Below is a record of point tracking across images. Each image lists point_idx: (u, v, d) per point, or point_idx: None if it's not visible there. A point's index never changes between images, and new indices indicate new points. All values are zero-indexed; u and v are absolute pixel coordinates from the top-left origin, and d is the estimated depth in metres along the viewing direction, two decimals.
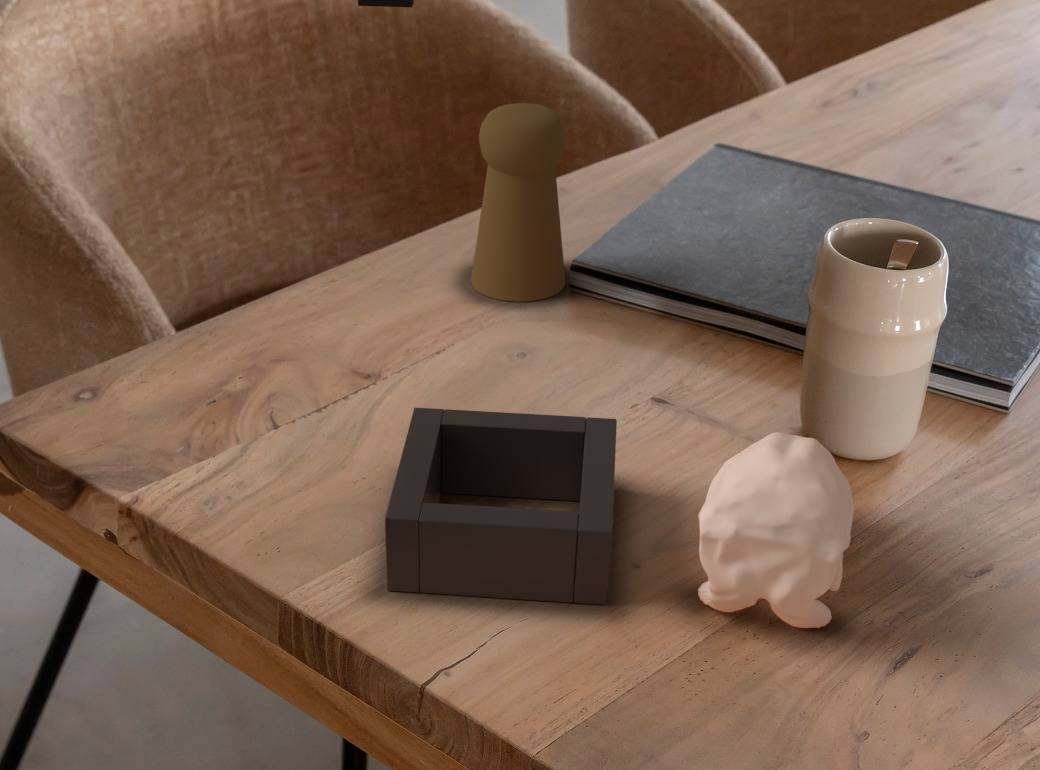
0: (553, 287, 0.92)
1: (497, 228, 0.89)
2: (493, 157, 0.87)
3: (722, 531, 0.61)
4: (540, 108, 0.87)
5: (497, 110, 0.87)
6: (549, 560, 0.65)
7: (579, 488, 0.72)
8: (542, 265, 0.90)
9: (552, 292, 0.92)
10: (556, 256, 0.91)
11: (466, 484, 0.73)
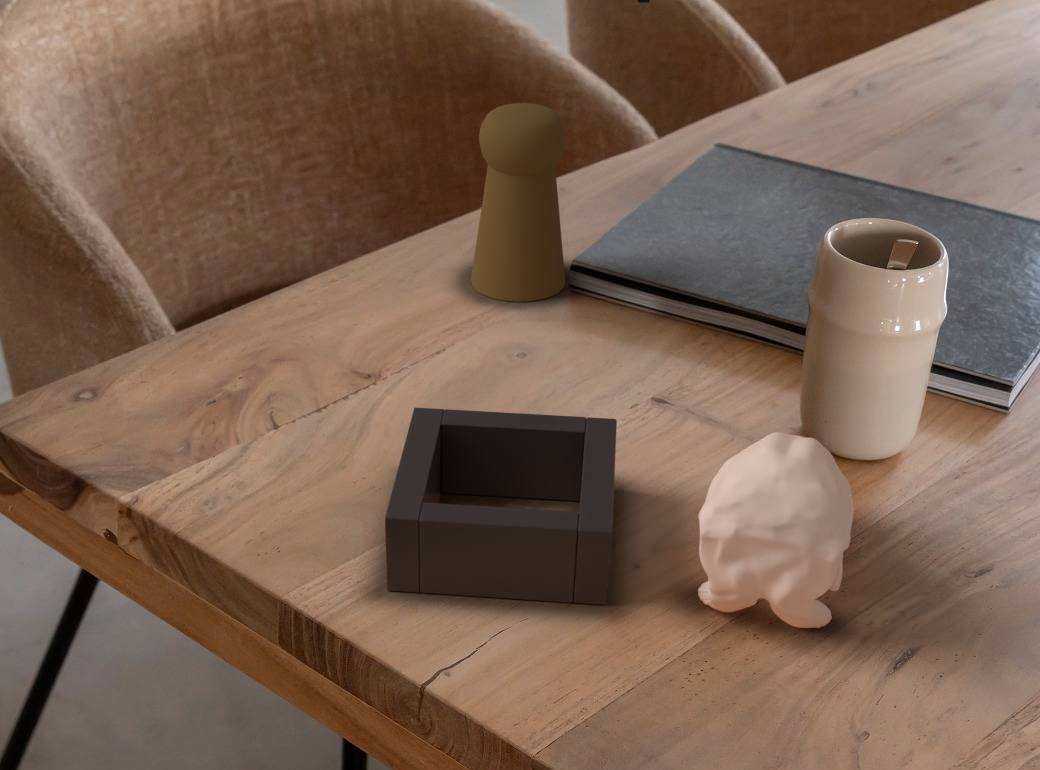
0: (553, 287, 0.92)
1: (497, 228, 0.89)
2: (493, 157, 0.87)
3: (722, 531, 0.61)
4: (540, 108, 0.87)
5: (497, 110, 0.87)
6: (549, 560, 0.65)
7: (579, 488, 0.72)
8: (542, 265, 0.90)
9: (552, 292, 0.92)
10: (556, 256, 0.91)
11: (466, 484, 0.73)
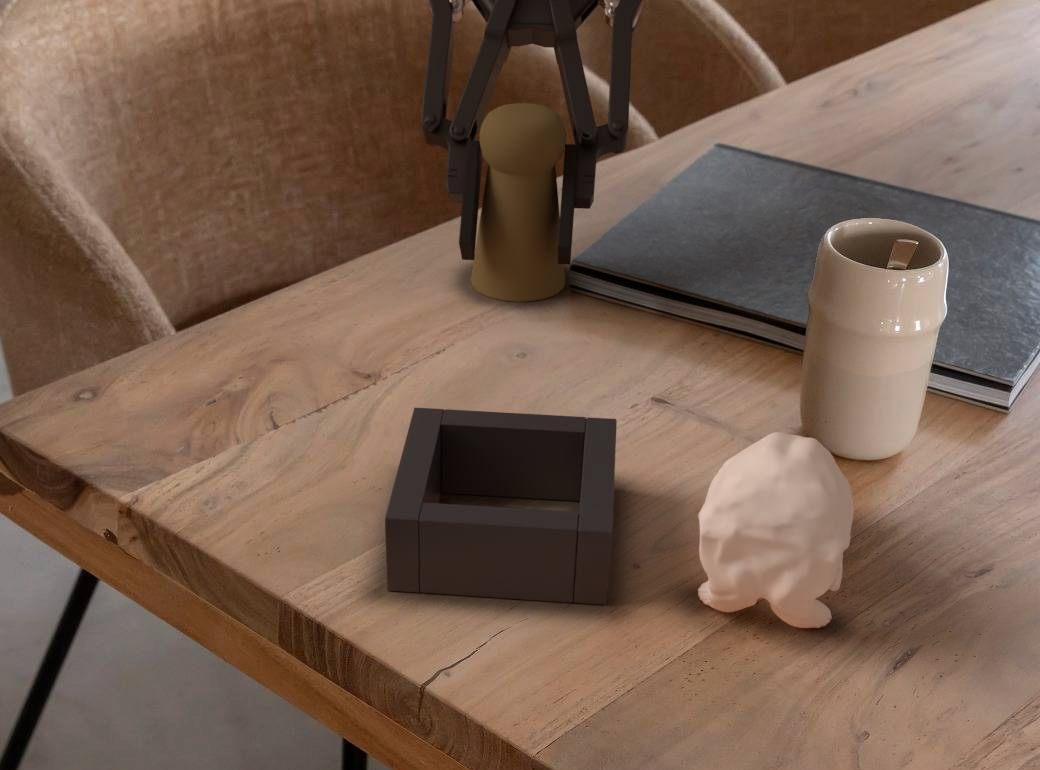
0: (553, 287, 0.92)
1: (497, 228, 0.89)
2: (493, 157, 0.87)
3: (722, 531, 0.61)
4: (540, 108, 0.87)
5: (497, 110, 0.87)
6: (549, 560, 0.65)
7: (579, 488, 0.72)
8: (542, 265, 0.90)
9: (552, 292, 0.92)
10: (556, 256, 0.91)
11: (466, 484, 0.73)
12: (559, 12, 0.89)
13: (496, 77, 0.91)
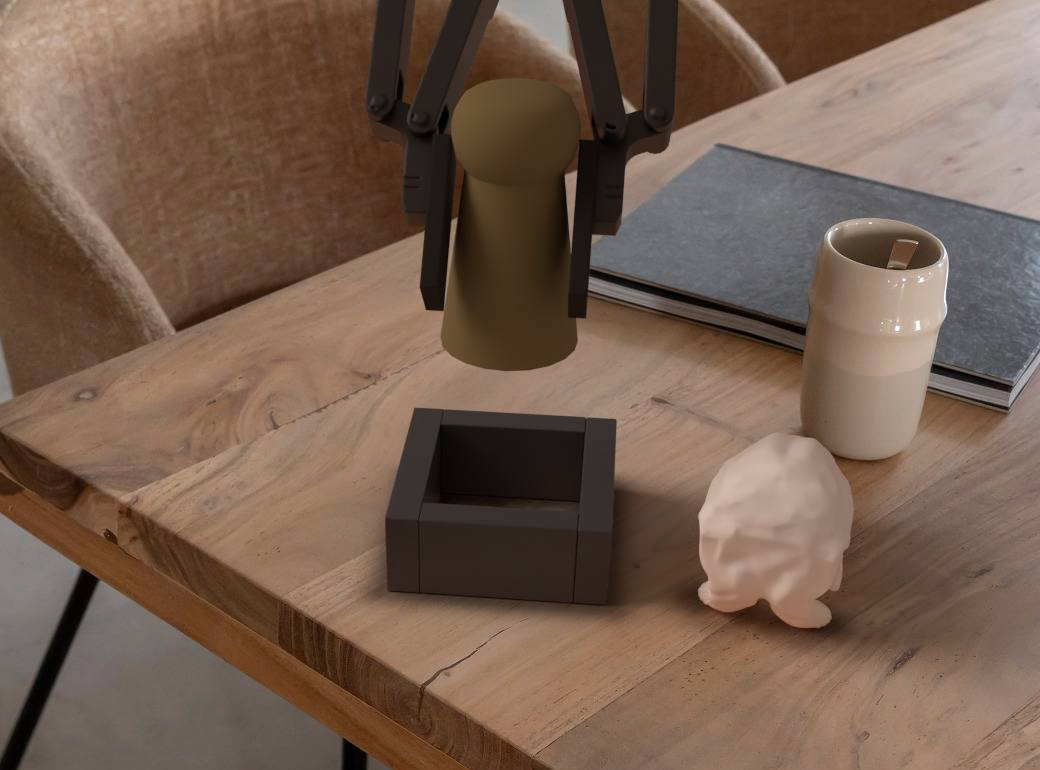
0: (560, 349, 0.62)
1: (478, 264, 0.60)
2: (472, 160, 0.58)
3: (722, 531, 0.61)
4: (543, 85, 0.58)
5: (478, 88, 0.58)
6: (549, 560, 0.65)
7: (579, 488, 0.72)
8: (544, 318, 0.61)
9: (559, 357, 0.63)
10: (565, 304, 0.62)
11: (466, 484, 0.73)
12: None
13: (477, 41, 0.62)
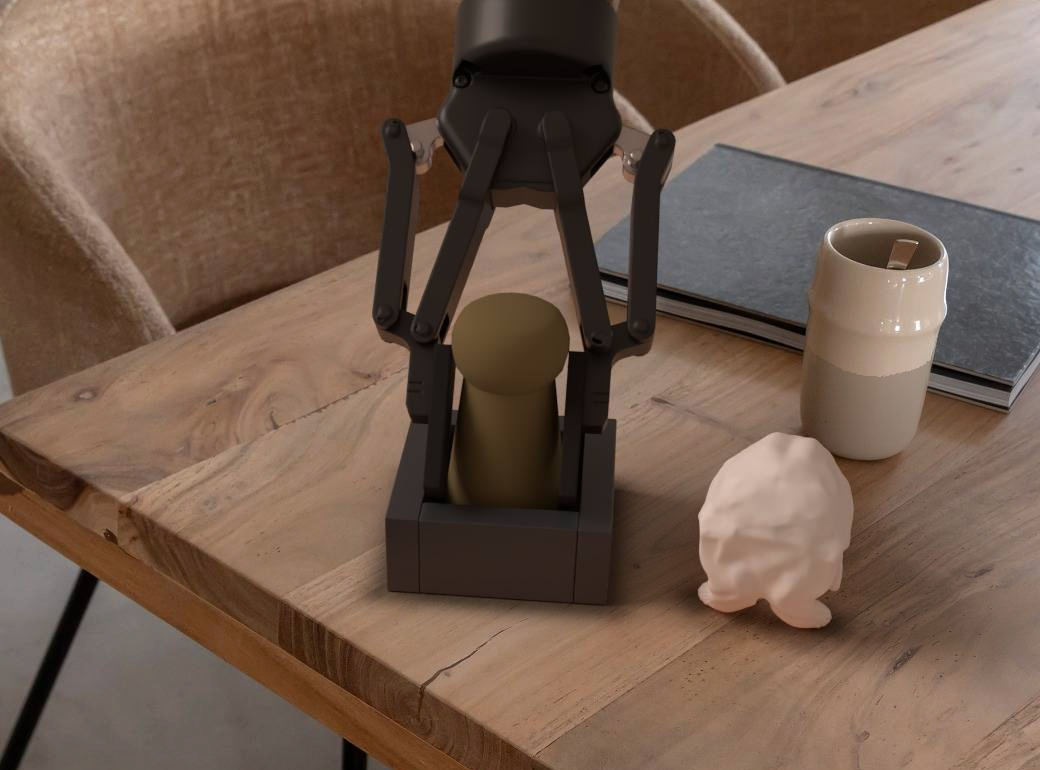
0: None
1: (476, 460, 0.66)
2: (470, 372, 0.63)
3: (722, 531, 0.61)
4: (535, 304, 0.63)
5: (476, 306, 0.64)
6: (549, 560, 0.65)
7: (579, 488, 0.72)
8: (537, 507, 0.67)
9: None
10: (556, 493, 0.67)
11: None
12: (561, 168, 0.65)
13: (475, 250, 0.67)
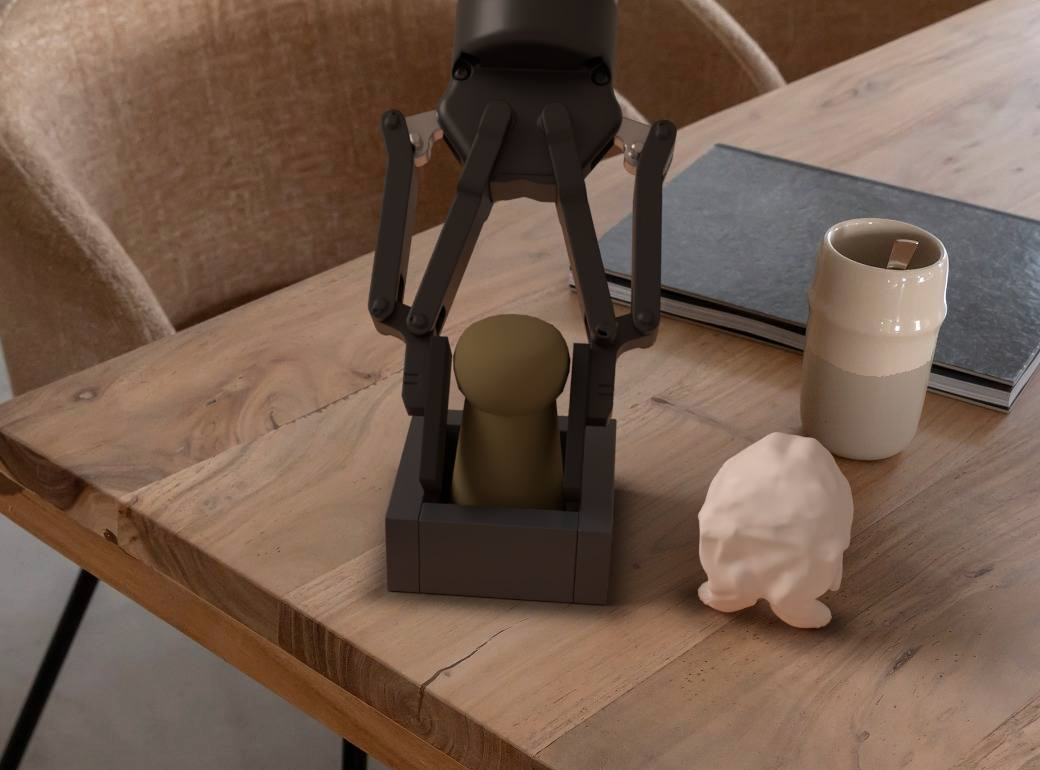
0: None
1: (478, 480, 0.66)
2: (472, 394, 0.64)
3: (722, 531, 0.61)
4: (536, 325, 0.64)
5: (477, 328, 0.64)
6: (549, 560, 0.65)
7: None
8: None
9: None
10: None
11: None
12: (562, 160, 0.65)
13: (473, 243, 0.67)
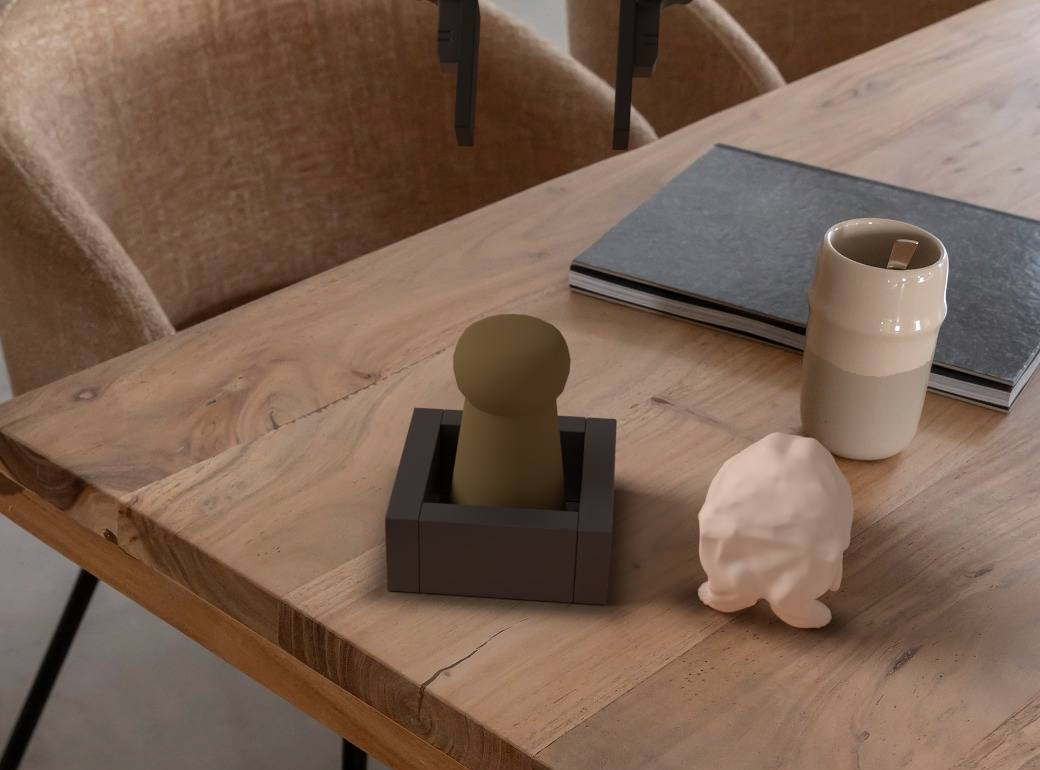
0: None
1: (478, 480, 0.66)
2: (472, 394, 0.64)
3: (722, 531, 0.61)
4: (536, 325, 0.64)
5: (477, 328, 0.64)
6: (549, 560, 0.65)
7: (579, 488, 0.72)
8: None
9: None
10: None
11: None
12: None
13: None
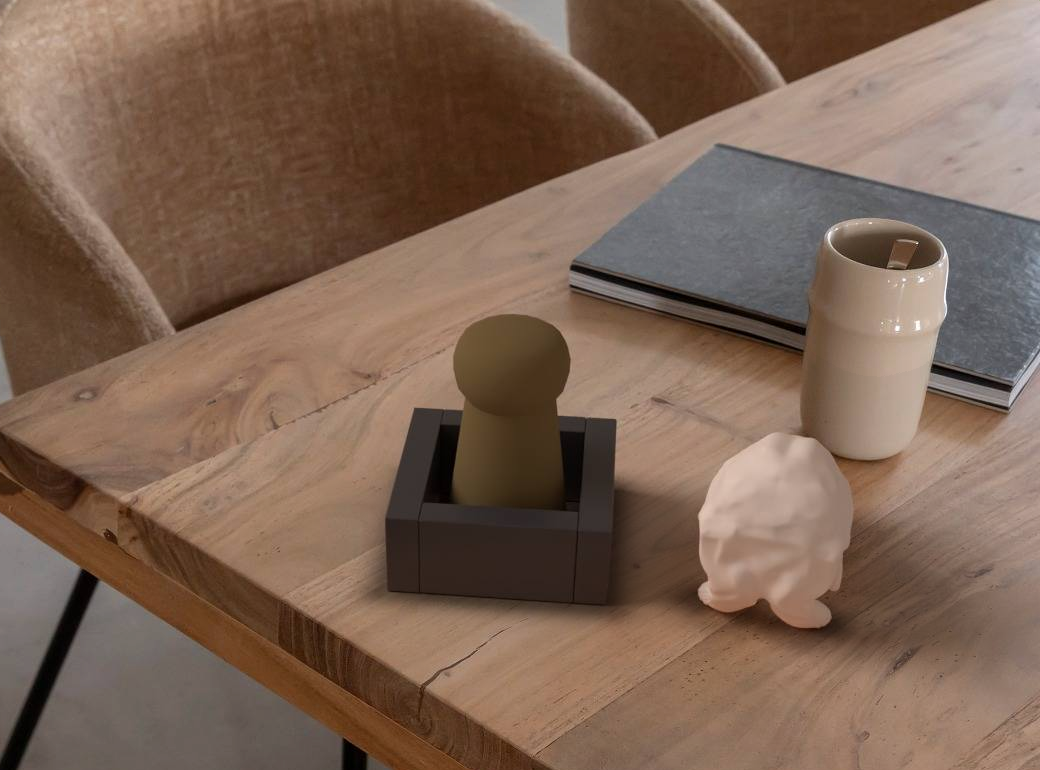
0: None
1: (478, 480, 0.66)
2: (472, 394, 0.64)
3: (722, 531, 0.61)
4: (536, 325, 0.64)
5: (477, 328, 0.64)
6: (549, 560, 0.65)
7: (579, 488, 0.72)
8: None
9: None
10: None
11: None
12: None
13: None
